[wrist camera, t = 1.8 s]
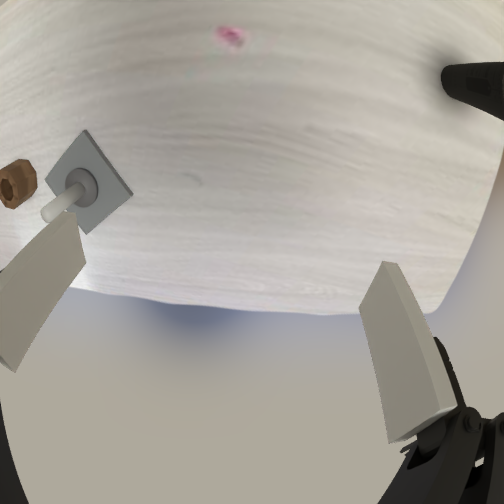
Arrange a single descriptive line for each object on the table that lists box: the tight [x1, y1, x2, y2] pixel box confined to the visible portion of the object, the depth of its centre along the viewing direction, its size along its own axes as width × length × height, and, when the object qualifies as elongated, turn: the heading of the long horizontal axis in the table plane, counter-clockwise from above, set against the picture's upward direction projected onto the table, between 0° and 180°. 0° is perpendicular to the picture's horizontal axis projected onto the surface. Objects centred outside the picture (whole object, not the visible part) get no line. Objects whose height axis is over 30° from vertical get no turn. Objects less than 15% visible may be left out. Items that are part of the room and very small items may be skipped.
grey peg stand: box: [41, 130, 133, 235], centre depth 30 cm, size 12×12×10 cm
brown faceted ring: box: [0, 159, 37, 209], centre depth 31 cm, size 7×7×5 cm
